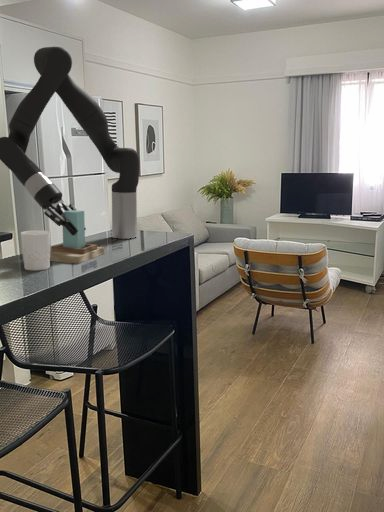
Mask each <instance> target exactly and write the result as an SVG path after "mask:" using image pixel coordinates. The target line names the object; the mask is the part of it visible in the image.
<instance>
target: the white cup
mask: <svg viewBox="0 0 384 512" xmlns="http://www.w3.org/2000/svg"><path fill="white" fill-rule="evenodd" d="M51 235H52V234H51V231H49V230H43V229H41V230H38V229H37V230H36V229H35V230H24V231H21V232H20V241H21V242H20V243H21V244H20V245H21V251H22V252H21V253H22V260H23V266H24V267H23V268H24V269H25V270H26V271H45V270H48V269H49V268H51V261H50V251H51Z"/></svg>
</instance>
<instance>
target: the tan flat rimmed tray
mask: <svg viewBox="0 0 384 512" xmlns="http://www.w3.org/2000/svg"><path fill="white" fill-rule="evenodd" d="M104 254H105V246H103V247H101V246H98V244H94V243H85V247H82V248H69V247H63V242H62V243H59V244H56V245H53V246H50V262H57V263H66V264H67V263H68V264H69V263H70V264H77V265H78V264H82V263H85V262H86V261H89V260H92V259H94V258H97V257H99V256H102V255H104Z"/></svg>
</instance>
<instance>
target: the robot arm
mask: <svg viewBox="0 0 384 512" xmlns="http://www.w3.org/2000/svg"><path fill="white" fill-rule="evenodd" d="M33 64H34V68H35V69H36V71H37V73H38V74H39V75H40V76H39V78H38V80H37V82H36V83H35V85H34V86H33V87H32V89H31V90H30V91H29V92H28V93H27V94H26V96H25V97H24V98H23V99H22V100H21V102H20V103H19V104H18V106H17V108H16V109H15V111H14V113H13V115H12V117H11V119H10V122H9V124H8V128H9V134H8V136H1V137H0V161H1V162H2V163H3V164H4V165H5V166H6V167H7V168H8V170H10V171H11V172H12V173H13V174H14V176H15V177H16V179H17V180H18V181H19V182H20V184H21V185H22V186H23V187H24V188H25V189H26V191H27V192H28V194H29V195H30V196H31V198H33V200H34V201H35V202H36V203H37V204H38V205H39V207H40V208H41V209H42V210H45V211H44V212H43V214H44V215H45V216H47V218H49V219H50V220H51V221H52V222H53V223H54V224H55V225H56V226H59V227H60V226H61V227H62V228H63V227H65V228H66V229H67V230H68V231H69V232H70V233H71V234H72V235H75V234H76V233H77V232H78V230H77V229H76V228H75V227H74V226H73V224H72V223H71V222H69V219H68V218H67V217H66V214H65V213H64V212H65V211H68V210H76V211H78V210H77V208H76V207H75V205H74V204H73V203H69V204H68V203H66V202H65V201H64V200H63V199H62V197H63V193H62V191H60V189H59V188H58V187H57V185H55V184H54V182H53V181H52V180H51V179H50V177H48V176H47V175H46V174H45V173H44V172H43V171H42V170H41V169H40V167H39V166H37V164H36V163H35V162H33V161H32V159H30V158H29V157H28V156H27V154H26V152H27V149H28V146H29V143H30V137H31V135H32V134H33V132H34V130H35V127H36V126H37V123H38V121H39V119H40V118H41V115H43V112H44V110H45V108H46V107H47V105H48V104H49V102H50V101H51V100H52V99H51V98H52V97H53V96H54V95H55V93H56V94H57V96H58V97H59V99H61V101H62V103H63V104H64V106H66V108H67V109H68V110H69V112H70V113H71V115H72V117H74V119H75V120H76V122H77V123H78V124H79V126H80V127H81V128H82V130H83V131H84V132H85V133H86V135H87V136H88V137H89V139H90V141H91V142H92V143H93V145H94V146H95V148H96V149H97V151H98V152H99V154H100V156H101V157H102V159H103V160H104V161H103V162H104V163H105V164H106V165H107V167H108V169H110V171H112V173H113V172H114V173H116V174H119V176H118V177H119V178H118V179H117V181H115V182H114V183H112V184H111V225H112V226H111V232H112V233H111V234H112V237H111V238H113V239H117V238H118V239H119V240H129V239H130V238H131V239H136V238H137V237H136V236H137V233H138V231H137V230H138V229H137V223H138V221H137V220H138V218H137V216H138V215H137V204H138V203H137V202H138V201H137V198H138V197H137V195H138V194H137V191H138V189H137V188H138V184H139V181H140V180H139V179H140V158H139V157H140V156H139V154H138V152H137V150H135V149H134V148H132V147H119V146H118V144H117V143H116V142H115V141H114V139H113V138H112V137H111V135H110V131H109V124H108V119H107V116H106V114H105V112H104V111H103V109H102V108H101V107H100V105H99V103H98V102H97V101H96V100H95V99H94V98H93V97H92V96H91V95H90V94H89V93H88V92H87V91H86V90H84V89H83V88H82V87H80V85H78V84H77V83H76V82H75V80H73V79H72V77H71V76H70V75H69V74H70V73H71V69H72V66H73V60H72V56H71V54H70V52H69V51H68V50H67V49H66V48H64V47H61V46H46V47H41V48H39V49H38V50H36V52H35V53H34V55H33ZM84 230H85V231H86V230H87V229H86V227H85V228H84ZM135 237H136V238H135ZM118 239H117V240H118Z"/></svg>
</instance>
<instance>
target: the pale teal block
mask: <svg viewBox="0 0 384 512" xmlns="http://www.w3.org/2000/svg"><path fill="white" fill-rule="evenodd" d="M76 210H77V209H76ZM76 210H68V211H65V212H64V213H65V214H66V217H67V218H68V219H69V222H71V223H72V224H73V226H74V227H75V228H76V229H77V230H78V232H77V233H76V234H75V235H72V234H71V233H70V232H69V231H68V230H67V229H66V228H65V227H63V226H62V243H63V247H69V248H82V247H85V244H86V230H84V228H86V227H85V226H86V225H85V210H77V211H76Z"/></svg>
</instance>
